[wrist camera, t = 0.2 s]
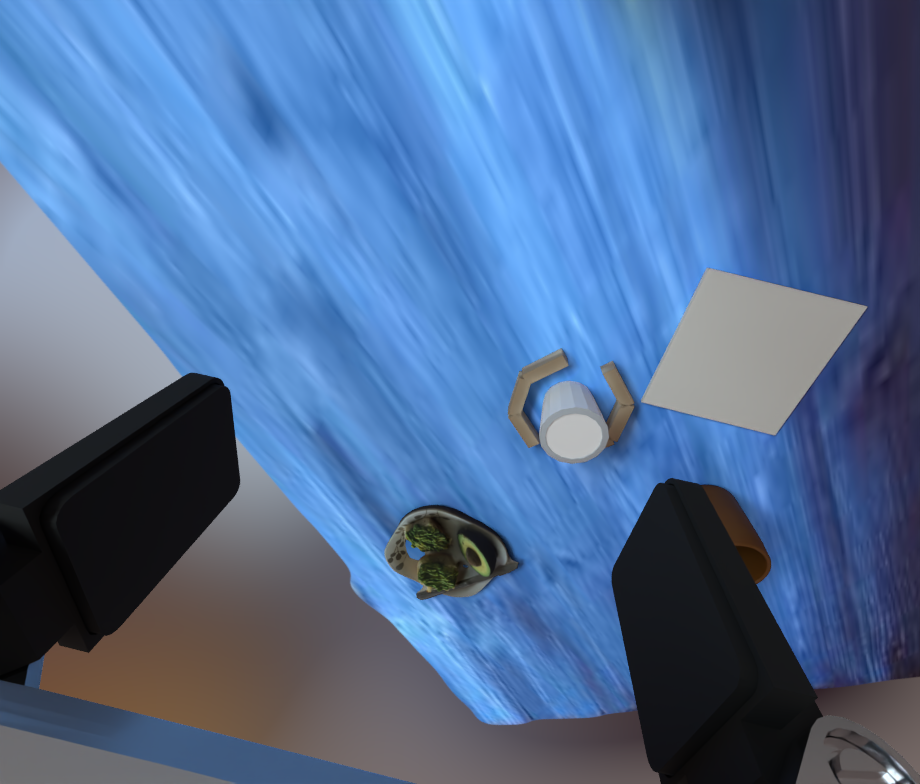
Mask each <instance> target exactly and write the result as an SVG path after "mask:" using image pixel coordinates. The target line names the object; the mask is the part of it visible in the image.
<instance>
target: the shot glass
mask: <svg viewBox="0 0 920 784" xmlns="http://www.w3.org/2000/svg"><path fill="white" fill-rule="evenodd" d="M539 438H540V443H541V447H542V448H543V449H544V450H545V452H546V453H547V454H548V455H549V456H550V457H552V458H554V459H556V460H558V461H560V462H565V463H571V464H573V463H581V462H586V461H588V460H590V459H592V458H595V457H597V456H598V455H599V454H600V453H601V452H602V451H603V449H604V448H605V447H606V444H607V441H608V439H609V433H608V426H607V424H606V422H605V420H604V418H603V416H602V414H601V412H600V410H599V408H598V405H597V403H596V401H595V399H594V397H593V395H592V393H591V392H590V391H589V389H588V388H587V387H586V386H584V385H583V384H581V383H579V382H574V381H564V382H559V383H557V384H555V385H554V386H552V387H550V389H549V390H548V391H547V392H546V394H545V397H544V400H543V407H542V415H541V423H540V432H539Z"/></svg>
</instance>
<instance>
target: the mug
mask: <svg viewBox="0 0 920 784" xmlns="http://www.w3.org/2000/svg"><path fill="white" fill-rule="evenodd" d="M701 486H702V487H703V488H704V490H705V492H706V494H707V495H708V497H709V499H710V501H711V503H712V505H713V506H714V508H715V510H716V512H717V514H718V516H719V517H720V519H721V521H722V523H723V525H724V527H725V528H726V530H727V532H728V534H729V536H730V538H731V539H732V541H733V543H734V545H735V547H736V549H737V550H738V552H739V554H740V556H741V558H742V560H743V561H744V563H745V565H746V567H747V569H748V571H749V572H750V574H751V576H752V578H753V580H754V582H755V583H756V584H758V583H759V582H761V581H762V580H763V579H764V578H765V577H766V576H767V575H768V573H769V571H770V569H771V560H770V557H769V555H768V553H767V551H766V549H765V547H764V545H763V543H762V541H761V539H760V538H759V536H758V534H757V533H756V531H755V529H754V528H753V526H752V524H751V523H750V521H749V519H748V518H747V516H746V515H745V513H744V512H743V510H742V508H741V507H740V505H739V504H738V502H737V501H736V499H735V498H734V496H733V495H732V494H731V493H730V492H728V491H727V490H725V489H723V488H721V487H718V486H714V485H701Z"/></svg>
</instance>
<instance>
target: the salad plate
mask: <svg viewBox="0 0 920 784" xmlns="http://www.w3.org/2000/svg"><path fill="white" fill-rule="evenodd" d="M406 539H407V540H408V541H410V542H411V543H412V545H411V547H412V548H415V547H417V548H419V549H420V551H422V552H425V555H424V556H423V557H421V558H420V560H415V559H411V558H410V557H409V555H408V554H407V551H406V547H405V542H406ZM385 558H386V561H387V562H388V564H389V566H390V567H391V568H392V569H393V570H394V571H395V572H397V573H399V574H401V575H403V576H405V577H408V578H410V579H412V580H415V581H417V582H419V583H420V584H421V585H423V588H422V589H421V590H420V591H418V592H417V594H416V595H417V598H418V599H420V600H424V599H428V598H431V597H434V596H437V595H440V594H444V595H448V596H452V597H469V596H472V595H475V594H476V593H477V592H479V591H480V590H482V589H483V588H484V587H485V586H486V584H487V583H488V582H489V581H490V580H491V579H492V578H493V577H495V576H498V575H499V576H501V575H504V574H507V573H509V572H511V571H513V570H515V569H517V566H518V562H515V561H513V560H512V559H511V558H510V556H509V554H508V551H507V548H506V546H505V544H504V542H503V541H502V539H501V538H500V537H499V535H498V534H497V533H496V532H495V531H493V530H492V529H491V528H489V527H488V526H486V525H485V524H483V523H481V522H480V521H478V520H476V519H474V518H472V517H470V516H468V515H466V514H464V513H462V512H460V511H458V510H456V509H453V508H449V507H445V506H439V505H429V506H423V507H419V508H417V509H414V510H412V511H411V512H409V513H408V514H406V515H405V516H404V517H403V518H402V520H401V521H400V523H399V526H398V527H397V529H396V530H395V532H394V534H393V535H392V537H391V538H390V540H389V542H388V544H387V546H386V548H385ZM463 565H467V566H468V567H467V568H465V567H463Z"/></svg>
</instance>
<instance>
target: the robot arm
mask: <svg viewBox="0 0 920 784" xmlns="http://www.w3.org/2000/svg"><path fill="white" fill-rule="evenodd" d="M239 485H240V475H239V466H238V457H237V448H236V439H235V430H234V421H233V412H232V403H231V395H230V390H229V389H228V388H227V387H226V386H224V383H223V382H222V380H221V379H219V378H216V377H211V376H207V375H202V374H198V373H189V374H187V375H185V376H183V377H182V378H180V379H178V380H177V381H175V382H174V383H172V384H170V385H169V386H168V387H165V388H164V389H162V390H161V391H159V392H158V393H156V394H154V395H153V396H151V397H149V398H148V399H146V400H145V401H143V402H141V403H140V404H138V405H137V406H135V407H133V408H132V409H130V410H128V411H127V412H125V413H124V414H122V415H120V416H119V417H118V418H116V419H114V420H112V421H111V422H109V423H108V424H106V425H104V426H103V427H101V428H100V429H98V430H96V431H95V432H93V433H92V434H90V435H88V436H87V437H85V438H83V439H82V440H80V441H79V442H77V443H75V444H74V445H72V446H71V447H69V448H67V449H66V450H64V451H63V452H61V453H59V454H58V455H56V456H54V457H53V458H51V459H50V460H48V461H46V462H45V463H43V464H41V465H40V466H38V467H37V468H35V469H33V470H32V471H30V472H29V473H27V474H26V475H24V476H22V477H21V478H19V479H17V480H16V481H14V482H13V483H11V484H9V485H8V486H6V487H4V488H3V489H1V490H0V784H415V783H411V782H407V781H403V780H399V779H395V778H391V777H387V776H384V775H379V774H376V773H372V772H368V771H364V770H360V769H356V768H352V767H348V766H344V765H340V764H336V763H332V762H328V761H325V760H321V759H317V758H313V757H309V756H305V755H301V754H297V753H293V752H289V751H285V750H281V749H277V748H274V747H269V746H266V745H262V744H257V743H254V742H250V741H246V740H242V739H238V738H234V737H229V736H226V735H222V734H218V733H214V732H210V731H206V730H202V729H198V728H194V727H190V726H186V725H182V724H178V723H174V722H170V721H166V720H162V719H158V718H154V717H150V716H146V715H142V714H138V713H134V712H130V711H126V710H122V709H118V708H114V707H110V706H105V705H102V704H98V703H94V702H89V701H86V700H81V699H78V698H73V697H69V696H65V695H61V694H57V693H53V692H49V691H45V690H41V689H39V685H40V679H41V673H42V667H43V661H44V655H45V653H46V652H47V651H48V650H49V649H50V648H51V647H52V646H53V645H54V644H55V643H56V642H57V641H58V643H59V645H60V646H64V647H68V648H72V649H76V650H80V651H84V652H88V653H89V652H90V651H91V650H92V649H93V647H94V646H95V645H96V644H97V643H98V642H99V641H100V640H101V639H102V637H103V636H104V635H105V636H107V635H110V634H112V633H113V632H115V631H116V630H117V629H118V628H119V627H120V626H121V625H122V624H123V623H124V622H125V621H126V619H127V618H128V617H129V616H130V615H131V614H132V612H134V610H135V609H136V608H137V607H138V606H139V605H140V604H141V602H142V601H143V600H144V599H145V598H146V597H147V595H148V594H149V593H150V592H151V591H152V590H153V589H154V588H155V586H156V585H157V584H158V583H159V582H160V581H161V579H162V578H163V577H164V576H165V575H166V574H167V573H168V572H169V570H170V569H171V568H172V567H173V566H174V565H175V564H176V562H177V561H178V560H179V559H180V558H181V557H182V556H183V554H184V553H185V552H186V551H187V550H188V549H189V547H190V546H191V545H192V544H193V543H194V542H195V541H196V540H197V538H198V537H199V536H200V535H201V534H202V533H203V532H204V530H205V529H206V528H207V527H208V526H209V525H210V524H211V523H212V521H213V520H214V519H215V518H216V517H217V516H218V514H219V513H220V512H221V511H222V510H223V509H224V508H225V507H226V505H227V504H228V503H229V502H230V501H231V500H232V499H233V497H234V496H235V495H236V493H237V491H238V489H239ZM612 587H613V592H614V597H615V602H616V606H617V611H618V616H619V621H620V626H621V631H622V636H623V641H624V646H625V651H626V656H627V660H628V665H629V670H630V675H631V680H632V685H633V690H634V695H635V700H636V705H637V710H638V714H639V719H640V724H641V729H642V734H643V739H644V744H645V749H646V754H647V758H648V761H649V764H650V766H651V768H652V769H653V771H655V772H658V773H659V777H660V782H661V784H920V775H919V774H918V773H917V772H916V771H915V770H914V769H913V767H912V766H911V765H910V764H909V763H908V762H907V761H906V760H905V759H904V758H903V756H901V755H900V754H899V753H898V752H897V751H896V750H895V749H893V748H892V747H891V746H890V745H888V744H887V743H886V742H885V741H884V740H883V739H882V738H880V737H879V736H877V735H876V734H874V733H873V732H871V731H870V730H868V729H867V728H865V727H863V726H862V725H860V724H857V723H855V722H853V721H851V720H848V719H846V718H844V717H837V716H830V715H828V716H825V717H823V716H822V714H821V712H820V710H819V708H818V706H817V705H816V703H815V701H814V700H815V699H817V698H818V697H817V695H816V693H815V691H814V690H813V688H812V686H811V684H810V682H809V680H808V679H807V677H806V675H805V673H804V671H803V669H802V668H801V666H800V664H799V662H798V660H797V659H796V657H795V655H794V653H793V651H792V649H791V648H790V646H789V644H788V642H787V640H786V638H785V637H784V635H783V633H782V631H781V629H780V627H779V626H778V624H777V622H776V620H775V618H774V616H773V615H772V613H771V611H770V609H769V607H768V605H767V604H766V602H765V600H764V598H763V596H762V594H761V593H760V591H759V589H758V587H757V585H756V583H755V582H754V580H753V578H752V576H751V574H750V572H749V571H748V569H747V567H746V565H745V563H744V561H743V560H742V558H741V556H740V554H739V552H738V550H737V549H736V547H735V545H734V543H733V541H732V539H731V538H730V536H729V534H728V532H727V530H726V528H725V527H724V525H723V523H722V521H721V519H720V517H719V516H718V514H717V512H716V510H715V508H714V506H713V505H712V503H711V501H710V499H709V497H708V495H707V494H706V492H705V490H704V488H703V487H702V486H701V485H699V484H697V483H692V482H687V481H683V480H678V479H674V478H670V479H668V480H667V481H666V482H665V483H658V484H657V485H656V487H655V488H654V490H653V492H652V494H651V496H650V498H649V500H648V501H647V503H646V505H645V507H644V509H643V511H642V513H641V515H640V517H639V519H638V521H637V523H636V525H635V526H634V528H633V530H632V532H631V534H630V536H629V538H628V540H627V542H626V544H625V546H624V548H623V549H622V551H621V553H620V555H619V557H618V559H617V561H616V563H615V565H614V567H613V571H612Z"/></svg>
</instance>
